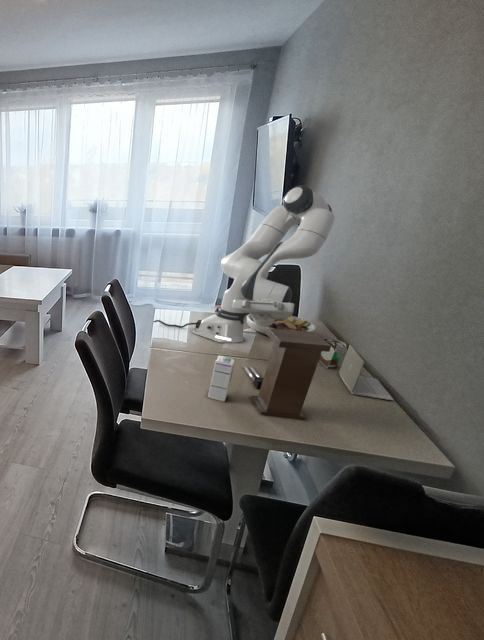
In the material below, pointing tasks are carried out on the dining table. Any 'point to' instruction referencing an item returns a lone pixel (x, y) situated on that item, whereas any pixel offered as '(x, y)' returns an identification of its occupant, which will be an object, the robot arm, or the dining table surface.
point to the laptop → (360, 377)
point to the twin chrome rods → (257, 379)
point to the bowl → (283, 325)
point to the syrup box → (221, 378)
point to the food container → (332, 353)
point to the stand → (289, 372)
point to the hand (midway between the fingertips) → (261, 303)
